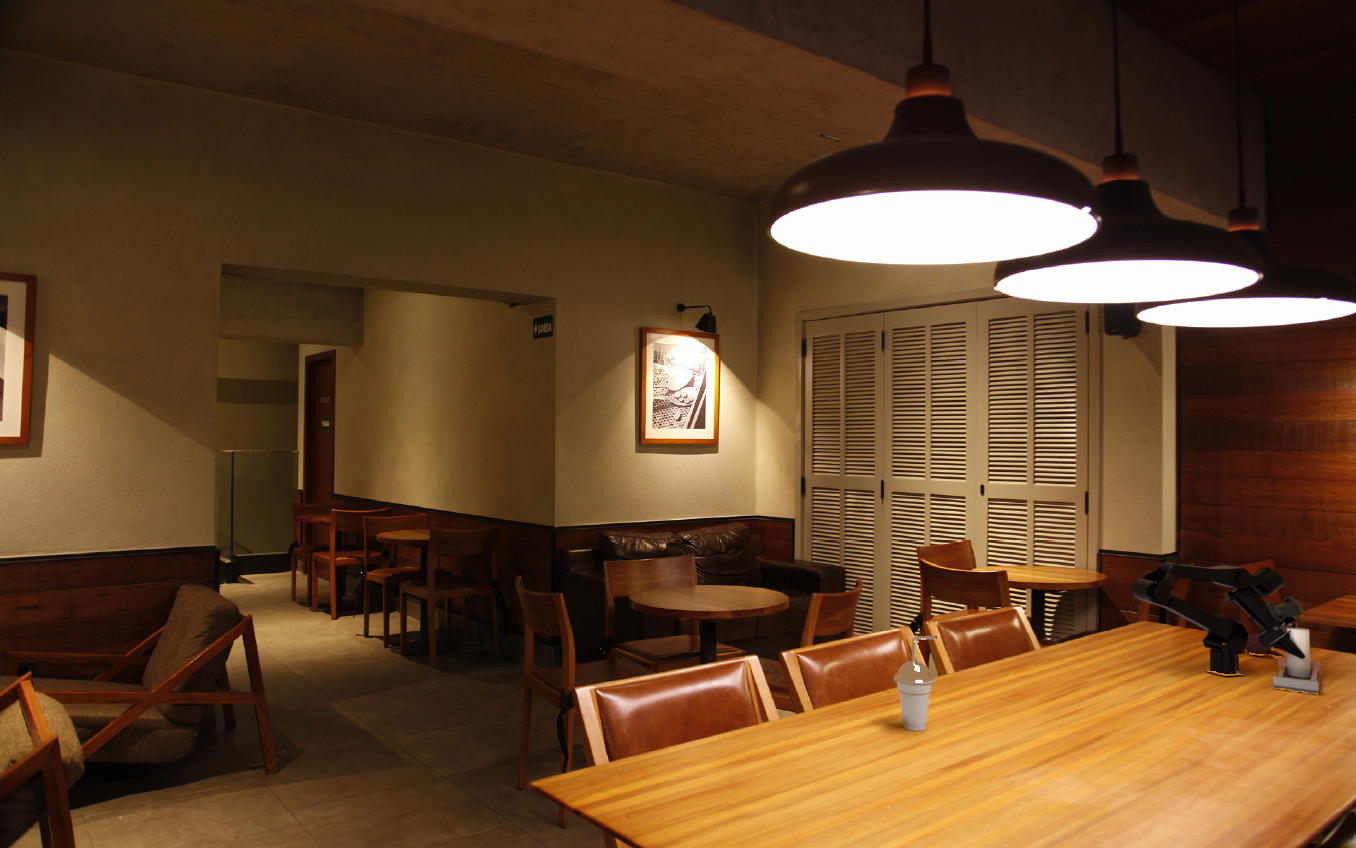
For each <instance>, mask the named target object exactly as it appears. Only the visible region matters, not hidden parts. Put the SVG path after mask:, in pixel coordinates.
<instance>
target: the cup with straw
mask: <svg viewBox="0 0 1356 848" xmlns="http://www.w3.org/2000/svg"><path fill="white" fill-rule="evenodd" d="M937 639H938V637H937V635H919V636H917V635H916V636H913V637H912V639H911V660H909V661H906V662H904V663H903V664H901V666H900V667H899V669H898V671H897V673H896V674H894V678H893V681H894V682H895V683H896V684H897V689H898V694H899V698H900V699H899V700H900V708H901V718H902V721H903V729H905V730H908V731H917V732H918V731H925V730H926V724H927V719H928V708H929V700H930V696H931V691H932V686H933V685H935V683H936V681H935V678H934V677H933V676H932V674H931V672H930V670H929V668H928V667H927V665H925V664H924V663H922V662H920V661H916V640H937Z"/></svg>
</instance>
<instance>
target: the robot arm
mask: <svg viewBox="0 0 1356 848" xmlns="http://www.w3.org/2000/svg"><path fill="white" fill-rule="evenodd" d="M1181 579H1182V580H1191V581H1202V582H1211V583H1213V584H1216V585H1219V586H1222V587H1228V588H1231V589H1232V588H1233V589H1234V590H1232V591H1226V592H1225V593H1224V603H1225V604H1228V603H1230V602H1232V601H1233V602H1234V603H1235V604H1236V605H1237V606H1239V608H1240V609H1242V610H1243V612H1244V613H1246V614H1247V615H1248V619H1249V621H1251V622H1252V621H1254V622H1255V623H1256V624H1257V625H1258V626H1259V627H1260V628H1261V630H1260V631H1261V632H1262V633H1260V636H1259V642H1260V643H1261V644H1262V645H1264V646H1265V647H1266V646H1268V645H1269V644H1270V646H1273V647H1276V648H1278V650H1280V651H1283V652H1285V653H1286V652H1288V653H1290V654H1292V655H1294V656H1296V657H1299V658H1301V659H1303V658H1305V657H1306V656H1305V655H1304V653H1303V652H1302V651H1301V649H1300V648H1299V647H1298V646H1297V645H1296V643H1295V642H1294V641H1293V640H1292V638H1291V630H1289V631H1288V632H1287V630H1286V627H1297V628H1298V621H1297V619H1298V618H1299V616H1302V615H1303V613H1304V612H1305V610H1304V608H1303V606H1302V602H1301V601H1300V600H1299V599H1296V598H1294V597H1293V596H1291V595H1290V596H1287V597H1285V598H1284V599H1283V600H1284V601H1283V602H1282V603H1280V604H1275V603H1274V602H1272V601H1268V602H1267V601H1266V599H1264V598H1268V597H1270V596H1271V595H1272V594H1274V593H1275V592H1277V591H1278V590H1279V589H1280V588H1282V587H1283V586H1284V585H1285V580H1284V577H1283V576H1282V575H1280V573H1278V572H1276V571H1275V570H1273V569H1272V568H1271V566H1269V565H1262V566H1261V567H1259V569H1258V570H1256V571H1255V572H1254V573H1252V574H1251V573H1250V572H1249V569H1247V568H1244V567H1240V566H1233V565H1226V564H1225V565H1214V566H1209V567H1206V566H1205V567H1204V566H1195V565H1190V564H1189V565H1188V564H1180V563H1179V564H1178V563H1174V562H1165V561H1164V562H1163V563H1161V564H1159V565H1158V567H1157V568H1154V569H1153V570H1151V571H1149V572H1147V573H1145V574H1144V575H1143V576H1142V577H1141V578H1138V579H1136V580H1135V581H1134V582H1133V583H1132V587H1131V592H1132V596H1133V597H1134V598H1135V599H1137V600H1138V601H1143V602H1146V603H1149V604H1151V605H1152V604H1153V605H1155V606H1159V607H1162V608H1163V609H1166V610H1168V611H1170V612H1172V613H1173V614H1175V615H1178V616H1179V617H1181V618H1183V619H1184V620H1186V621H1189V622H1190V623H1192V624H1194V625H1196V626H1198V627H1200V628H1201V629H1203V630H1204V631H1205V632H1206V635H1205V637H1204V638H1203V639H1202V644H1203V646H1204V648H1205V649H1209V669H1210V671H1216V672H1218V673H1224V674H1236V673H1237V671H1239V672H1240V657H1239V655H1243V654H1244V653H1245V650H1246V649H1245V647H1246V644H1247V641H1248V635H1249V633H1248V632H1249V631H1248V629H1247V628H1246V627H1245V626H1244V623H1242V622H1238V621H1237V620H1235V619H1234V618H1232V617H1229V616H1226V615H1225V616H1224V615H1221V614H1217V613H1214V614H1213V615H1212V614H1209V613H1207V612H1205V611H1203V610H1202V609H1200V608H1198V607H1196V606H1195V605H1192V604H1191V603H1189V602H1187V601H1185V600H1184V599H1182V598H1179V597H1177V596H1176V595H1175V594H1174V592H1173V591H1174V589H1175V587H1176V584H1177V582H1178V581H1179V580H1181ZM1295 621H1296V622H1295ZM1292 622H1294V623H1292ZM1273 647H1272V648H1273Z"/></svg>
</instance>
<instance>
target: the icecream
mask: <svg viewBox="0 0 1356 848" xmlns="http://www.w3.org/2000/svg"><path fill="white" fill-rule="evenodd" d="M1260 635H1261V633H1259V634H1258V632H1253V633H1252V634H1251V635H1249V634H1248V641H1247V644H1246V647H1245V650H1246V651H1247V653H1248V652H1251V653H1255V654H1267V655H1268V654H1271V655H1275V656H1282V657H1283V656H1284V655H1283V654H1282V653H1280V652H1278V651H1275V650H1272V649H1278V648H1276V647H1273V646H1270V644H1269V645H1268V646H1266V647H1265V646H1264V645H1262V644H1261V643H1260V642H1259V636H1260ZM1278 650H1279V649H1278Z"/></svg>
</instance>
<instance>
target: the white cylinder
mask: <svg viewBox="0 0 1356 848" xmlns="http://www.w3.org/2000/svg"><path fill="white" fill-rule="evenodd" d="M1286 630H1287V632H1288V631H1289V630H1291V638H1292V640H1293V641H1294V642H1295V643H1296V645H1297V646H1298V647H1299V648H1300V649H1301V651H1302V652H1303V653H1304V655H1305V656H1306V657H1305V658H1303V659H1301V658H1299V657H1296V656H1294V655H1292V654H1290V653H1288V652H1285V653H1286V654H1285V655H1286V658H1287V675H1290V676H1294V677H1302V678H1309V677H1311V676H1310V661H1311V650H1310V649H1311V645H1310V644H1311V643H1310V640H1311V639H1310V629H1308V628H1303V627H1298V626H1297V627H1286Z"/></svg>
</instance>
